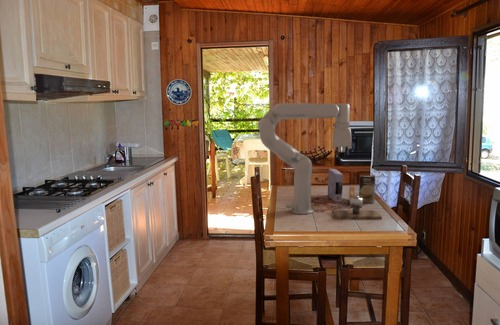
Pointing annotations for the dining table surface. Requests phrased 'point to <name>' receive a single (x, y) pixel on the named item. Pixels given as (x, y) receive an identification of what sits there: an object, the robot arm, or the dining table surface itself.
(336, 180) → the cake pan box
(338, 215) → the bayonet base
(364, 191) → the coffee box
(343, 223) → the dining table surface
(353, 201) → the twist collar
